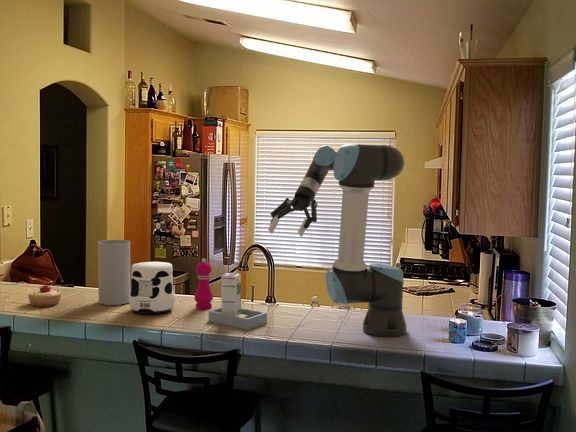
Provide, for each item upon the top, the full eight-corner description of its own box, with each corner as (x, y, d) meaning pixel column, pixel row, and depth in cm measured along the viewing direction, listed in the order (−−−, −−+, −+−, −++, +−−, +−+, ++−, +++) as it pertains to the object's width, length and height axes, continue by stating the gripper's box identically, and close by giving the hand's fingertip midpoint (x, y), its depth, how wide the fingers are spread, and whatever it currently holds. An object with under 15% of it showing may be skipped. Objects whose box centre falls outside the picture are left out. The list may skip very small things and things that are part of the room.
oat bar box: (247, 322, 211) (247, 315, 210) (240, 324, 207) (240, 317, 207) (232, 319, 215) (232, 312, 214) (225, 321, 211) (225, 314, 211)
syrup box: (236, 316, 209) (237, 276, 208) (220, 315, 210) (221, 275, 209) (241, 312, 214) (241, 273, 213) (225, 311, 216) (226, 272, 214)
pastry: (66, 302, 240) (66, 281, 240) (51, 309, 229) (52, 286, 228) (38, 300, 242) (38, 279, 241) (22, 307, 230) (22, 284, 229)
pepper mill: (214, 309, 231) (215, 259, 229) (196, 311, 228) (196, 260, 226) (210, 305, 237) (210, 256, 235) (192, 306, 235) (192, 257, 233)
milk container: (165, 303, 239) (165, 260, 238) (181, 313, 225) (181, 266, 223) (123, 308, 230) (122, 263, 228) (137, 319, 216) (137, 270, 214)
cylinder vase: (123, 297, 249) (122, 239, 246) (135, 303, 239) (135, 242, 237) (94, 301, 241) (93, 241, 238) (105, 307, 231) (105, 244, 229)
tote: (266, 325, 210) (267, 312, 210) (247, 332, 201) (248, 319, 201) (228, 316, 220) (228, 305, 220) (208, 323, 211) (208, 311, 211)
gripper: (337, 199, 228) (316, 242, 217) (284, 196, 242) (262, 236, 231) (331, 186, 223) (309, 228, 212) (277, 184, 237) (254, 223, 226)
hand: (284, 232), depth 221 cm, fingers open, 13 cm apart
